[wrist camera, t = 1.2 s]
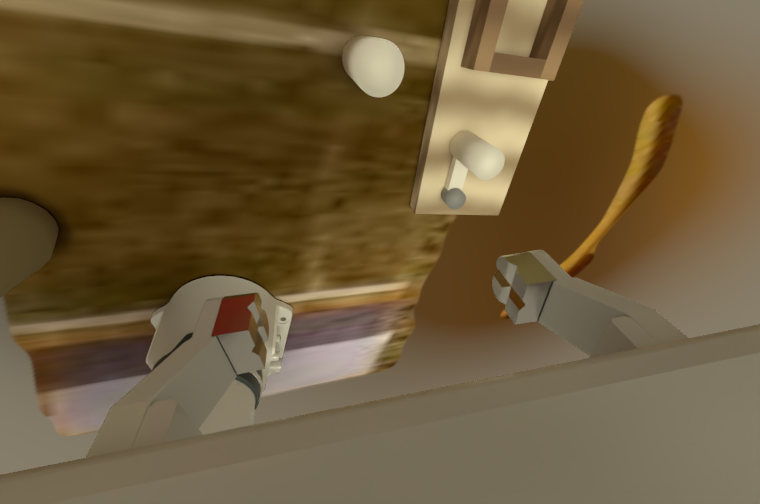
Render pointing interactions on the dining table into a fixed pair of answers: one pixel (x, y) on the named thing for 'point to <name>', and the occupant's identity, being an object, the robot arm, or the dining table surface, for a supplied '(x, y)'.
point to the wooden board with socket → (489, 91)
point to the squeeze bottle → (23, 240)
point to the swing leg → (469, 165)
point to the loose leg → (373, 64)
